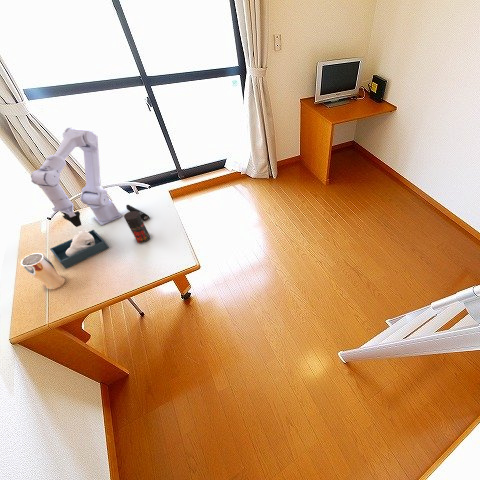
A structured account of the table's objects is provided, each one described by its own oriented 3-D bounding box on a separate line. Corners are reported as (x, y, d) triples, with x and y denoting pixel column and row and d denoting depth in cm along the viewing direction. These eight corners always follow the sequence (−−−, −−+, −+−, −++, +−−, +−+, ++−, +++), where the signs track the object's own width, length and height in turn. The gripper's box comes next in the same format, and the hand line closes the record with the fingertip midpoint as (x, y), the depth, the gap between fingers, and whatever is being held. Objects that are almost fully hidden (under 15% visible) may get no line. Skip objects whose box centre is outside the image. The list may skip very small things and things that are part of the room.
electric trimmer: (132, 207, 150) (130, 202, 148) (150, 218, 145) (148, 213, 143) (126, 210, 148) (123, 206, 146) (144, 222, 143) (141, 217, 141)
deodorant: (133, 240, 133) (120, 217, 123) (143, 233, 137) (131, 209, 127) (143, 244, 132) (131, 221, 121) (153, 237, 136) (142, 213, 125)
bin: (98, 236, 133) (93, 229, 130) (108, 247, 129) (104, 241, 126) (55, 255, 123) (49, 248, 120) (65, 268, 119) (59, 262, 116)
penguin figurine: (90, 231, 123) (64, 250, 115) (101, 243, 129) (76, 262, 122) (80, 226, 124) (54, 245, 117) (91, 239, 131) (67, 257, 123)
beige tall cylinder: (43, 292, 110) (18, 268, 99) (46, 279, 114) (22, 255, 104) (65, 286, 113) (42, 263, 102) (67, 274, 117) (45, 250, 106)
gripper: (39, 193, 116) (58, 218, 125) (53, 208, 110) (71, 233, 119) (60, 187, 120) (76, 211, 129) (73, 201, 114) (89, 226, 123)
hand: (75, 221), depth 125 cm, fingers open, 7 cm apart
